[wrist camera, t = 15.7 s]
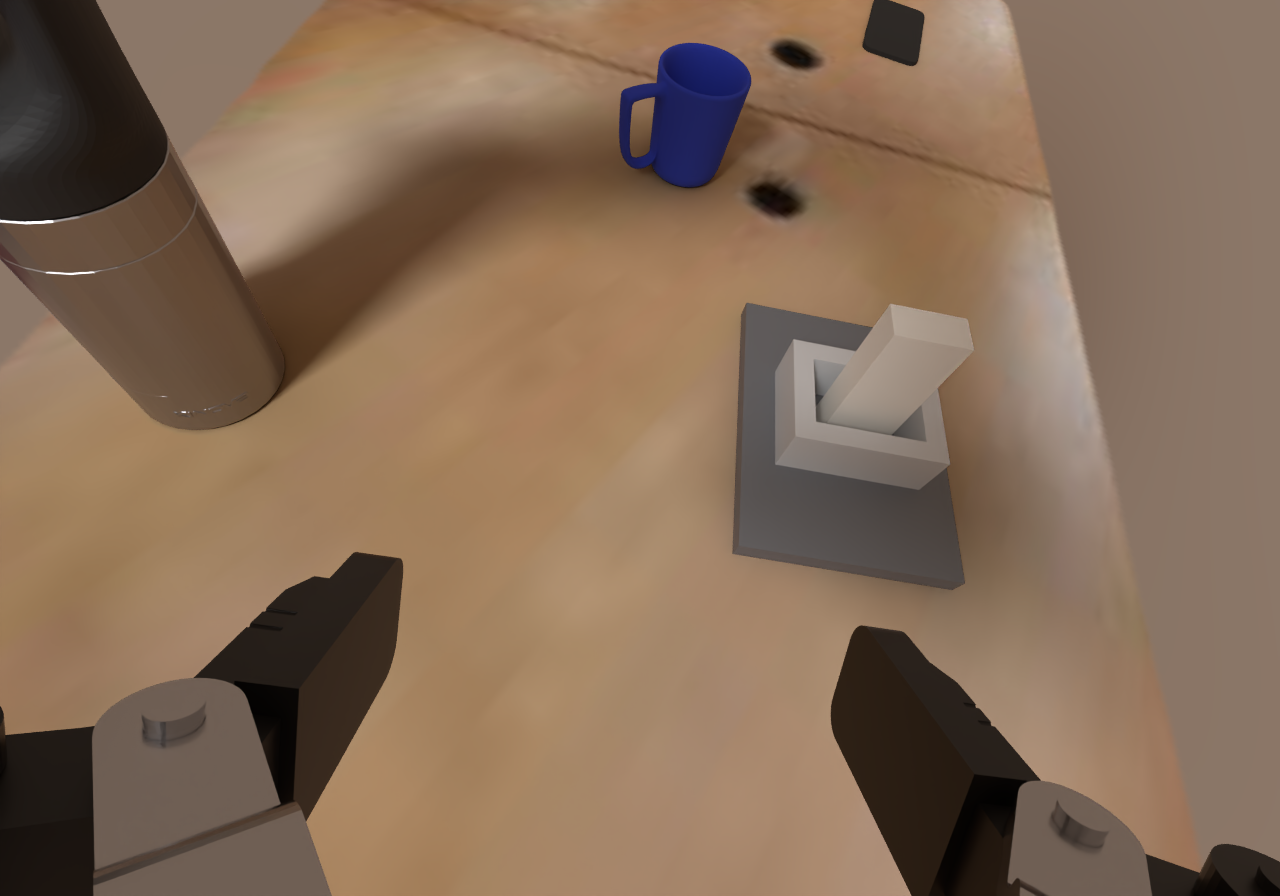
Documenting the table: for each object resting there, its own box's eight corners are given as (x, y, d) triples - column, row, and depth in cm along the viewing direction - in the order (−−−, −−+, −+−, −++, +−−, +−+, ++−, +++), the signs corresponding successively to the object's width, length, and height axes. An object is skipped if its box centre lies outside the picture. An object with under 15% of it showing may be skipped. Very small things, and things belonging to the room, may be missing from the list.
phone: (925, 12, 88) (918, 64, 80) (922, 19, 89) (914, 70, 81) (875, -5, 88) (862, 45, 80) (872, 1, 89) (859, 51, 81)
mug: (591, 159, 62) (602, 54, 53) (694, 137, 66) (719, 36, 58) (631, 214, 59) (650, 112, 50) (736, 187, 63) (769, 89, 55)
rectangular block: (813, 410, 49) (890, 303, 38) (874, 421, 49) (967, 318, 39) (814, 438, 47) (894, 335, 37) (877, 449, 48) (974, 350, 38)
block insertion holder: (741, 314, 55) (761, 267, 50) (916, 349, 56) (952, 306, 51) (732, 553, 43) (758, 522, 39) (952, 589, 45) (1002, 563, 40)
